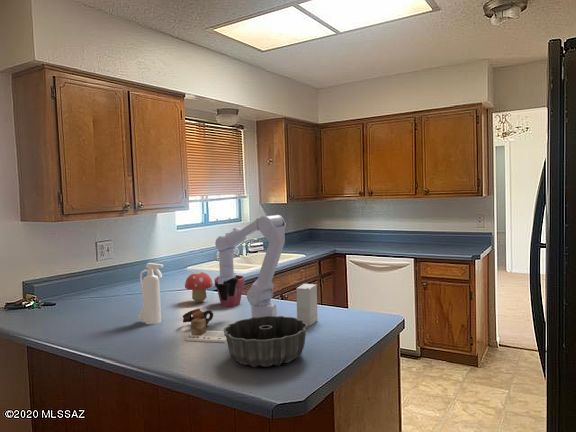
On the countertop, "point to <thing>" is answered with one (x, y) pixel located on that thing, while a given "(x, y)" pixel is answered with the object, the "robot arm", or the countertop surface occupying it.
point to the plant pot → (237, 295)
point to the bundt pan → (266, 340)
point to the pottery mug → (197, 315)
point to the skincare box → (307, 303)
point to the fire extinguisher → (151, 294)
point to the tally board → (208, 337)
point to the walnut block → (198, 326)
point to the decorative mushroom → (198, 285)
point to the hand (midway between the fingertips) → (227, 298)
